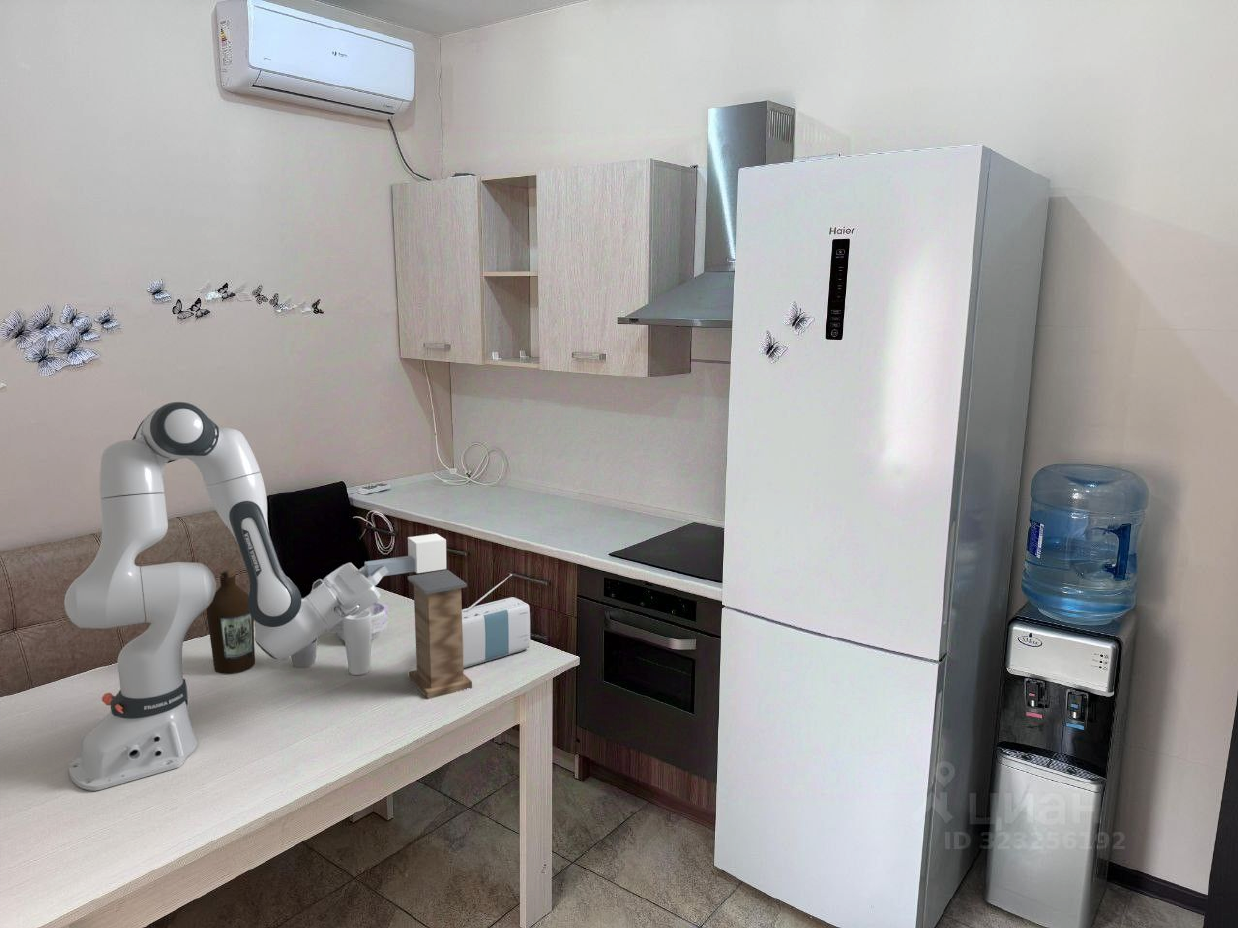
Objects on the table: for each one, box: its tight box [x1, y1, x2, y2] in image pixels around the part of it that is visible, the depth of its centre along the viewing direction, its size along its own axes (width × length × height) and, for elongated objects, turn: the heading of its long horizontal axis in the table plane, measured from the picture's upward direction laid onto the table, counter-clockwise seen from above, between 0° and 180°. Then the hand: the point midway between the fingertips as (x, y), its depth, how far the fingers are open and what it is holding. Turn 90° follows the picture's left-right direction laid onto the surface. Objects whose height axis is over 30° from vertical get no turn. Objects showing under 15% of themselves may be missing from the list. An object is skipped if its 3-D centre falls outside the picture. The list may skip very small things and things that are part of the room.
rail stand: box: [407, 569, 473, 700], centre depth 201 cm, size 11×13×26 cm
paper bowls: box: [329, 601, 389, 642], centre depth 231 cm, size 15×15×8 cm
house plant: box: [290, 624, 328, 669], centre depth 211 cm, size 14×14×16 cm
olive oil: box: [205, 568, 256, 675], centre depth 209 cm, size 11×11×25 cm
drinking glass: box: [343, 610, 373, 676], centre depth 208 cm, size 7×7×15 cm
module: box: [364, 533, 447, 578], centre depth 193 cm, size 18×6×7 cm, turn 122°
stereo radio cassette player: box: [462, 573, 531, 670], centre depth 217 cm, size 21×8×20 cm, turn 129°
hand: (383, 565), depth 190 cm, fingers closed on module, 3 cm apart
